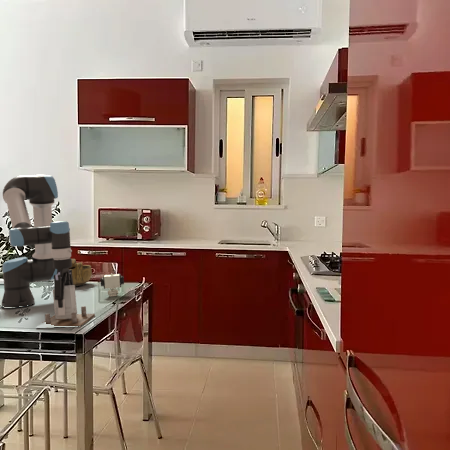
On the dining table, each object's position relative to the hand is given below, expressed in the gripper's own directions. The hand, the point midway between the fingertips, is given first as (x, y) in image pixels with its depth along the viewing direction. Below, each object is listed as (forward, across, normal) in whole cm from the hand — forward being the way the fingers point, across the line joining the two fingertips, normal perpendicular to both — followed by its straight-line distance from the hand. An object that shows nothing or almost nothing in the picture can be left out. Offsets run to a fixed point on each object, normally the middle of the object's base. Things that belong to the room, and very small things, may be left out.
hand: (66, 312), depth 200 cm
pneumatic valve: (+4, +50, -5) cm, 50 cm away
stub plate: (+4, 0, 0) cm, 4 cm away
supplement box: (+2, 0, 0) cm, 2 cm away
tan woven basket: (+5, +85, +27) cm, 89 cm away
